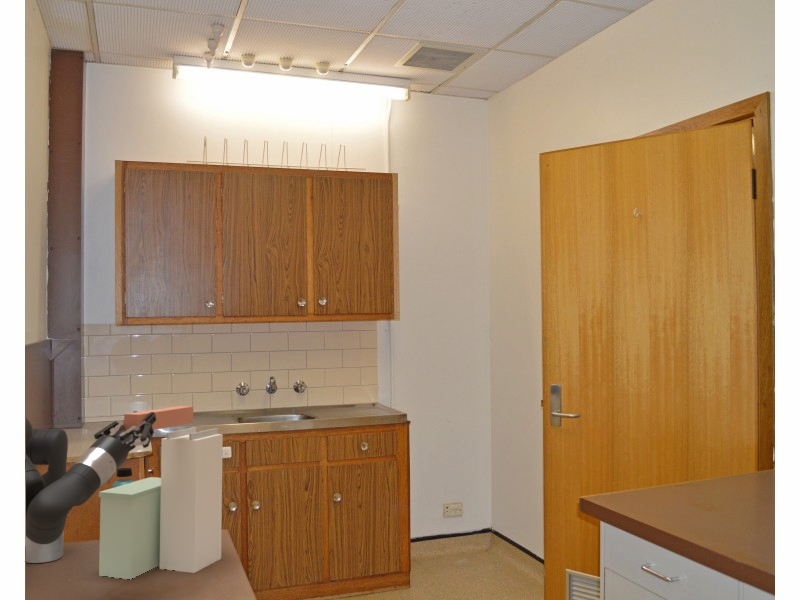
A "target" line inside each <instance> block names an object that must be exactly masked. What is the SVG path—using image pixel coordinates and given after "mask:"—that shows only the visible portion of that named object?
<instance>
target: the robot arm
mask: <svg viewBox="0 0 800 600" xmlns="http://www.w3.org/2000/svg"><path fill="white" fill-rule="evenodd" d="M135 412H138V411H135V410H133V412H132V413H135ZM155 421H156V416H155V413H154V412H150V413H149V414H148V415H147V417H146V418H145V419H144V420H143V421H142V422H140V423H139V424H138V425H136V426H135V425H133V426H132V427H131V428H129V429H128V430H124V419H122V420H120V421H119V422H118V421H117V420H115V421H113V422H111V423H109V424H108V425H106V426H105V427H103V428H102V429H101V430H99V431H97V432H95V433H94V435H93V437H94V440H95V441H94V442H93V443H92V444H91V445H90V446H89V447H88V448H87V449H86V450H85V451H84V452H83V453H82V454H81V455H80V456H79V457H78V458H77V459H76V461H75V462H74V463H73V465H72V466H71V467H69V469H68V470H67V461H68V448H69V442H68V441H69V440H68V438H69V437H68V434H67V432H66V430H64V429H63V428H33V425H32V423H31V421H29V419H27V418H26V562H25V563H29V564H40V563H41V564H42V563H48V562H53V561H56V560H59V559H61V558H63V556H64V532H65V531H64V530H65V526H66V522H67V517H68V514H69V513H70V512H71V510H72V509H73V508H75V507H79V506H82V505H84V504H85V503H86V502H87V501H88V500H90V498H91V497H92V496H93V495H94V494H95V493H96V492H97V490H99V489H100V488H101V487H102V486H103V485H104V484H105V483H106V482H108V480H110V478H112V476H113V475H114V474H115V473H117V470H118V469H120V468H121V466H122V465H123V464H124V463H125V462H126V461H127V459H128V455H129V453H130V452H131V451H133V450H134V449H135V448H136V447H138V446H142V447H143V449H145V448H148V447H149V446H150V443H151V441H152V439H153V436H154V434H155V431H154V430H153V428H152V424H153V423H154V422H155ZM140 428H142V429H143V430H142V431H141V432H140ZM112 429H113V430H112ZM111 430H112V431H111ZM133 431H134V432H133ZM46 465H47V466H48V467H47V471H46V472H45V473H43V474H41V473H40V472H39V470H38V468H37V467H36V466H46Z"/></svg>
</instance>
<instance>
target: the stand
mask: <svg viewBox="0 0 800 600" xmlns="http://www.w3.org/2000/svg"><path fill="white" fill-rule="evenodd" d="M165 436H166V437H164V438H161V456H160V458H161V459H160V460H161V461H160V478H161V506H160V566H158V567H159V570H164V569H167V570H166V571H172V570H175V571H174V572H181V573H190V574H195V573H197V572H200V571H201V570H202V569H204V568H207V567H209V566H210V565H212V564H214V563H216V562H217V561H220V560H221V559H222V528H223V527H222V524H223V523H222V517H223V516H222V513H223V510H222V509H223V504H222V503H223V447H224V446H223V440H224V439H223V437H224V435H223V433H219V428H218V427H215V428H210V429H206V430H201V431H197V427H196V426H193V427H189V428H183V429H179V430H178V429H177V430H174V431H169V432H166V435H165Z"/></svg>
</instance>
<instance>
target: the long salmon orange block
mask: <svg viewBox="0 0 800 600" xmlns="http://www.w3.org/2000/svg"><path fill="white" fill-rule="evenodd" d="M150 412H154V413H155V416H156V421H155V422H154V423H153V424H152V428H153V430H160V429H166V428H171V427H177V426H183V425H188V424H194V406H190V405H179V406H178V405H177V406H171V407H164V408H157V409H150V410H143V411H137V412H135V413H133V412H130V413H124V415H123V420H124V430H128V429H129V428H131V427H132V426H133V425H135V426H136V425H138V424H139V423H140V422H142V421H143V420H144V419H145V418H146V417H147V415H148V414H149V413H150ZM142 430H143V429H142V428H140V432H141V431H142ZM133 432H134V431H133Z"/></svg>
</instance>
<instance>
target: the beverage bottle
mask: <svg viewBox="0 0 800 600" xmlns="http://www.w3.org/2000/svg"><path fill="white" fill-rule="evenodd" d="M132 476H133V472H132V468H131V467H119V469H118V470H117V471H116V477H117V478H122V479H118V480H116V481H115V482H113V484H112V488H114V487H118V486H121V485H125V484H128V483H132V482H135V481H134V480H133V479H128V477H132ZM126 477H127V478H126Z"/></svg>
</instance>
